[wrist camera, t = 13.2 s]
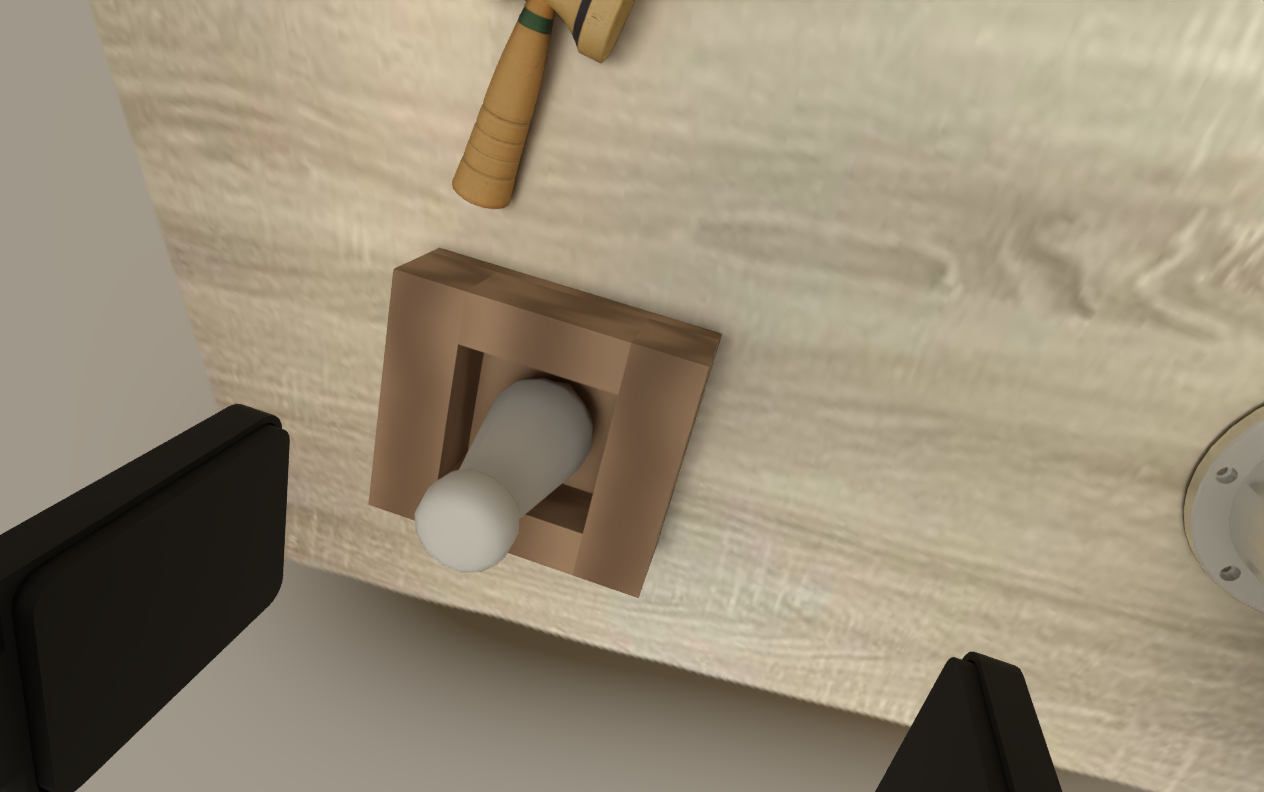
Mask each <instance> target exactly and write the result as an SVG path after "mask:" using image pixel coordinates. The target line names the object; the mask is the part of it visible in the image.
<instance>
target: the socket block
mask: <svg viewBox="0 0 1264 792" xmlns="http://www.w3.org/2000/svg"><path fill="white" fill-rule="evenodd" d="M721 335H722V334H720V333H716V332H713V331H710V330H707V329H703V328H700V327H697V326H693V325H690V324H687V323H684V322H680V321H677V320H674V319H670V318H667V317H664V316H661V315H657V314H654V313H651V312H648V311H644V310H641V309H638V308H634V307H631V306H628V305H625V304H621V303H618V302H615V301H611V300H608V299H605V298H602V297H598V296H595V295H592V294H588V293H585V292H582V291H579V290H575V289H572V288H569V287H565V286H562V285H559V284H556V283H552V282H549V281H546V280H543V279H539V278H536V277H533V276H529V275H526V274H523V273H520V272H516V271H513V270H510V269H506V268H503V267H500V266H497V265H493V264H490V263H487V262H483V261H480V260H477V259H474V258H470V257H467V256H464V255H461V254H457V253H454V252H451V251H447V250H444V249H441V248H438V249H436V250H434V251H432V252H430V253H427V254H425V255H423V256H421V257H419V258H417V259H414V260H412V261H410V262H408V263H406V264H403V265H401V266H399V267H397V268H395V269H393V279H392V288H391V298H390V307H389V316H388V326H387V335H386V345H385V354H384V364H383V373H382V383H381V392H380V401H379V411H378V420H377V430H376V439H375V449H374V458H373V468H372V477H371V487H370V496H369V505H372V506H374V507H377V508H380V509H383V510H386V511H389V512H392V513H395V514H398V515H400V516H403V517H406V518H409V519H412V520H415V511H416V510H417V508H418V506H419V504H420V502H421V500H422V499H423V497H424V495H425V493H426V491H427V489H428V488H429V487H430V486H431V485H432V484H433V483H435V482H436V481H437V480H439V479H441V478H442V477H444V476H446V475H447V474H449V473H451V472H453V471H456V470H459V469H460V467H461V465H462V463H463V461H464V459H465V457H466V455H467V453H468V451H469V449H470V447H471V445H472V443H473V441H474V439H475V437H476V435H477V433H478V431H479V429H480V427H481V425H482V423H483V421H484V419H485V417H486V415H487V413H488V411H489V410H490V408H491V406H492V404H493V402H494V401H495V399H496V397H497V395H498V393H500V392H501V391H503V390H505V389H506V388H508V387H509V386H511V385H513V384H514V383H516V382H517V381H519V380H521V379H535V378H546V379H549V380H552V381H555V382H562V383H568V384H571V385H572V386H573V388H574V389H575V391H576V392H577V393H578V395H579V396H580V398H581V399H582V401H583V402H584V403H585V405H586V406H587V408H588V409H589V411H590V415H591V418H592V422H593V435H592V447H591V451H590V452H589V454H588V456H587V457H586V459H585V460H584V462H583V464H582V465H581V467H580V469H579V470H577V471H576V472H575V473H574V474H573V475H571V476H570V477H569V478H568V479H567V480H566V481H564V482H563V483H562V484H561V485H560V486H558V487H557V488H556V489H555V490H554V491H552V492H551V493H550V494H549V495H548V496H546V497H545V498H544V499H543V500H542V501H540V502H539V503H538V504H537V505H536V506H534V507H533V508H532V509H531V510H530V511H528V512H527V513H526V514H525V515H524V516H522V517H521V518H520V519H519V534H518V535H517V537H516V539H515V541H514V543H513V544H512V546H511V548H510V549H509V551H508V553H510V554H513V555H516V556H519V557H521V558H524V559H527V560H530V561H533V562H536V563H539V564H542V565H545V566H547V567H550V568H553V569H556V570H559V571H562V572H565V573H568V574H571V575H573V576H576V577H579V578H582V579H585V580H588V581H591V582H594V583H596V584H599V585H602V586H605V587H608V588H611V589H614V590H617V591H620V592H622V593H625V594H628V595H631V596H634V597H637V598H639V595H640V592H641V589H642V586H643V583H644V581H645V578H646V575H647V572H648V569H649V566H650V563H651V561H652V558H653V555H654V552H655V549H656V546H657V543H658V540H659V536H660V533H661V530H662V527H663V523H664V520H665V517H666V514H667V510H668V507H669V504H670V501H671V497H672V494H673V491H674V488H675V484H676V481H677V478H678V475H679V471H680V468H681V465H682V462H683V458H684V455H685V452H686V449H687V445H688V442H689V439H690V436H691V432H692V429H693V426H694V423H695V419H696V416H697V413H698V410H699V406H700V403H701V400H702V397H703V393H704V390H705V387H706V384H707V380H708V377H709V374H710V371H711V367H712V364H713V361H714V358H715V354H716V351H717V348H718V345H719V341H720V338H721Z"/></svg>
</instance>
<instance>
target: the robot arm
mask: <svg viewBox="0 0 1264 792" xmlns="http://www.w3.org/2000/svg"><path fill="white" fill-rule="evenodd" d="M289 445H290V439H289V434H288V432H287V431H286V430H284V429H282V424H281V422H280V419H279V418H278V417H276V416H275V415H272V414H269V413H266V412H263V411H260V410H257V409H254V408H251V407H248V406H245V405H242V404H234V405H231V406H229V407H227V408H225V409H223V410H222V411H220V412H218V413H216V414H215V415H213V416H211V417H209V418H207V419H206V420H204V421H202V422H200V423H199V424H197V425H195V426H193V427H191V428H190V429H188V430H186V431H184V432H183V433H181V434H179V435H178V436H175V437H174V438H172V439H170V440H168V441H167V442H165V443H163V444H161V445H159V446H158V447H156V448H154V449H152V450H151V451H149V452H147V453H145V454H143V455H142V456H140V457H138V458H136V459H134V460H133V461H131V462H129V463H127V464H126V465H124V466H122V467H120V468H118V469H117V470H115V471H113V472H111V473H110V474H108V475H106V476H104V477H102V478H101V479H99V480H97V481H95V482H94V483H92V484H90V485H88V486H86V487H85V488H83V489H81V490H79V491H78V492H76V493H74V494H72V495H70V496H69V497H67V498H65V499H63V500H61V501H60V502H58V503H56V504H54V505H53V506H51V507H49V508H47V509H45V510H44V511H42V512H40V513H38V514H37V515H35V516H33V517H31V518H29V519H28V520H26V521H24V522H22V523H21V524H19V525H17V526H15V527H13V528H12V529H10V530H8V531H6V532H5V533H3V534H1V535H0V792H74V791H76V790H77V789H78V788H79V787H81V786H82V785H83V784H84V783H85V782H86V781H87V780H88V779H89V778H90V777H91V776H92V775H93V774H94V773H96V772H97V771H98V770H99V769H100V768H101V767H102V766H103V765H104V764H105V763H106V762H107V761H108V760H109V759H110V758H111V757H112V756H113V755H114V754H115V753H116V752H117V751H118V750H119V749H120V748H121V747H122V746H124V745H125V743H127V742H128V741H129V740H130V739H131V738H132V737H133V736H134V735H135V734H136V733H137V732H138V731H139V730H140V729H141V728H142V727H143V726H144V725H145V724H146V723H147V722H148V721H150V720H151V719H152V717H154V716H155V715H156V714H157V713H158V712H159V711H160V710H161V709H162V708H163V707H164V706H165V705H166V704H167V703H168V702H169V701H170V700H171V699H172V698H173V697H174V696H176V695H177V693H179V692H180V691H181V689H183V688H184V687H185V686H186V685H187V684H188V683H189V682H190V681H191V680H192V679H193V678H194V677H195V676H196V675H197V674H198V673H199V672H200V671H201V670H202V669H204V668H205V667H206V665H208V664H209V663H210V662H211V661H212V660H213V659H214V658H215V657H216V656H217V655H218V654H219V653H220V652H221V651H222V650H223V649H224V648H225V647H226V646H227V645H228V644H230V643H231V642H232V641H233V640H234V639H235V638H236V637H237V636H238V635H239V634H240V633H241V632H242V631H243V630H244V629H245V628H246V627H247V626H248V625H249V624H250V623H251V622H252V621H253V620H254V619H256V618H257V616H259V615H260V614H261V613H262V612H263V611H264V610H265V609H266V608H267V607H268V606H269V605H270V604H271V603H272V602H273V600H274V599H275V597H276V596H277V594H278V592H279V590H280V587H281V584H282V580H283V565H284V564H283V563H284V545H285V525H286V505H287V485H288V465H289ZM1184 523H1185V532H1186V535H1187V538H1188V541H1189V544H1190V547H1191V550H1192V552H1193V553H1194V555H1195V556H1196V558H1197V560H1198V561H1199V563H1200V564H1201V566H1202V567H1203V569H1204V570H1205V571H1206V572H1207V574H1208V575H1209V576H1210V577H1211V579H1212V580H1213V581H1214V582H1215V583H1216V584H1217V585H1218V586H1219V587H1221V588H1222V589H1223V590H1224V591H1226V592H1227V593H1228V594H1229V595H1231V596H1232V597H1233V598H1234V599H1236V600H1238V601H1240V602H1242V603H1244V604H1246V605H1248V606H1250V607H1252V608H1254V609H1255V610H1258V611H1261V612H1264V406H1263V407H1261V408H1259V409H1257V410H1255V411H1254V412H1253V413H1251V414H1250V415H1248V416H1247V417H1245V418H1244V419H1243V420H1241V421H1240V422H1238V423H1237V424H1235V425H1234V426H1233V427H1231V428H1230V429H1229V430H1228V431H1227V432H1226V433H1225V434H1224V435H1223V436H1222V437H1221V438H1220V439H1219V440H1218V441H1217V442H1216V443H1215V444H1214V445H1213V446H1212V447H1211V449H1210V450H1209V451H1208V453H1207V454H1206V455H1205V457H1204V458H1203V460H1202V461H1201V462H1200V464H1199V465H1198V467H1197V469H1196V471H1195V473H1194V476H1193V478H1192V480H1191V482H1190V485H1189V487H1188V490H1187V495H1186V500H1185V506H1184ZM875 792H1062V789H1061V786H1060V784H1059V780H1058V777H1057V774H1056V772H1055V768H1054V765H1053V762H1052V759H1051V757H1050V754H1049V751H1048V748H1047V745H1046V742H1045V739H1044V736H1043V733H1042V730H1041V727H1040V724H1039V721H1038V718H1037V715H1036V712H1035V709H1034V706H1033V703H1032V700H1031V697H1030V694H1029V691H1028V688H1027V685H1026V682H1025V679H1024V676H1023V674H1022V672H1021V670H1020V668H1018V667H1017V666H1015V665H1012V664H1009V663H1006V662H1003V661H1000V660H997V659H994V658H991V657H988V656H985V655H982V654H979V653H977V652H969V653H968V654H966V655H965V656H964V658H963V659H962V660H961V659H958V658H955V657H952V658H950V659H949V660H948V661H947V663H946V664H945V666H944V668H943V669H942V671H941V673H940V675H939V677H938V679H937V680H936V682H935V684H934V686H933V688H932V689H931V691H930V693H929V695H928V697H927V698H926V700H925V702H924V704H923V706H922V708H921V709H920V711H919V713H918V715H917V717H916V718H915V720H914V722H913V724H912V726H911V728H910V729H909V731H908V733H907V735H906V737H905V738H904V740H903V742H902V744H901V746H900V748H899V749H898V751H897V753H896V755H895V757H894V758H893V760H892V762H891V764H890V766H889V767H888V769H887V771H886V773H885V775H884V777H883V779H882V780H881V782H880V784H879V786H878V787H877V789H876V791H875Z"/></svg>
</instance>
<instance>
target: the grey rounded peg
mask: <svg viewBox="0 0 1264 792" xmlns="http://www.w3.org/2000/svg"><path fill="white" fill-rule="evenodd" d="M592 435H593V422H592V418H591V415H590V411H589V409H588V408H587V406H586V405H585V403H584V402H583V401H582V399H581V398H580V396H579V395H578V393H577V392H576V391H575V389H574V388H573V386H572V385H571V384H568V383H562V382H555V381H552V380H549V379H546V378H535V379H521V380H519V381H517V382H516V383H514V384H513V385H511V386H509V387H508V388H506V389H505V390H503V391H501V392H500V393H498V395H497V397H496V399H495V401H494V402H493V404H492V406H491V408H490V410H489V411H488V413H487V415H486V417H485V419H484V421H483V423H482V425H481V427H480V429H479V431H478V433H477V435H476V437H475V439H474V441H473V443H472V445H471V447H470V449H469V451H468V453H467V455H466V457H465V459H464V461H463V463H462V465H461V467H460V469H459V470H456V471H453V472H451V473H449V474H447V475H446V476H444V477H442V478H441V479H439V480H437V481H436V482H435V483H433V484H432V485H431V486H430V487H429V488H428V489H427V491H426V493H425V495H424V497H423V499H422V500H421V502H420V504H419V506H418V508H417V510H416V511H415V526H416V533H417V535H418V537H419V539H420V541H421V543H422V545H423V547H424V549H425V550H426V551H427V552H428V553H429V554H430V555H432V556H433V557H434V558H435V559H436V560H437V561H438V562H440V563H441V564H442V565H445V566H447V567H449V568H452V569H454V570H457V571H459V572H482V571H484V570H486V569H488V568H490V567H493V566H495V565H497V564H498V563H499V562H500V561H501V560H502V559H503V558H505V556H506V554H507V553H508V551H509V549H510V548H511V546H512V544H513V543H514V541H515V539H516V537H517V535H518V534H519V519H520V518H521V517H522V516H524V515H525V514H526V513H527V512H528V511H530V510H531V509H532V508H533V507H534V506H536V505H537V504H538V503H539V502H540V501H542V500H543V499H544V498H545V497H546V496H548V495H549V494H550V493H551V492H552V491H554V490H555V489H556V488H557V487H558V486H560V485H561V484H562V483H563V482H564V481H566V480H567V479H568V478H569V477H570V476H571V475H573V474H574V473H575V472H576V471H577V470H579V469H580V467H581V465H582V464H583V462H584V460H585V459H586V457H587V456H588V454H589V452H590V451H591V447H592Z"/></svg>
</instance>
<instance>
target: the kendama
mask: <svg viewBox="0 0 1264 792" xmlns="http://www.w3.org/2000/svg"><path fill="white" fill-rule="evenodd" d="M525 1H526V3H525V7H524V8H523V10H522V12H521V14H520V16H519V18H518V21H517V23H516V25H515V27H514V29H513V31H512V34H511V36H510V38H509V40H508V42H507V44H506V46H505V49H504V51H503V53H502V55H501V58H500V60H499V62H498V65H497V67H496V69H495V72H494V74H493V77H492V79H491V82H490V85H489V87H488V90H487V93H486V95H485V98H484V104H483V105H482V106H481V109H480V112H479V114H478V117H477V122H476V123H475V125H474V128H473V130H472V133H471V136H470V139H469V141H468V144H467V146H466V149H465V152H464V156H463V157H462V159H461V161H460V164H459V166H458V168H457V171H456V173H455V176H454V178H453V181H452V185H453V189H454V190H455V192H456V193H457V194H458V195H459V196H461V197H462V198H463V199H465V200H466V201H468V202H470V203H472V204H474V205H477V206H480V207H484V208H490V209H501V208H504V207H506V206H508V205H509V203H510V199H511V195H512V191H513V186H514V182H515V177H516V176H515V175H516V173H517V170H518V166H519V162H520V157H521V154H522V151H523V147H524V143H525V140H526V136H527V133H528V130H529V125H530V121H531V118H532V115H533V112H534V108H535V105H536V101H537V97H538V93H539V90H540V86H541V81H542V77H543V72H544V67H545V62H546V57H547V52H548V46H549V42H550V36H551V31H552V26H553V21H554V17H555V11H556V12H557V13H558V14H559V16H560V17H561V18H562V19H563V20H564V22H565V23H566V25H567V26H568V28H569V30H570V31H571V33H572V35H573V38H574V40H575V43H576V46H577V48H578V51H579V53H581V54H583V55H585V56H587V57H589V58H591V59H593V60H595V61H597V62H600V63H602V62H603V61H605V60H606V58H607V57H608V55H609V54H610V52H611V50H612V48H613V47H614V44H615V43H616V41H617V38H618V36H619V34H620V31H621V29H622V27H623V25H624V23H625V21H626V19H627V17H628V15H629V12H630V10H631V8H632V5H633V3H634V0H525Z"/></svg>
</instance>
